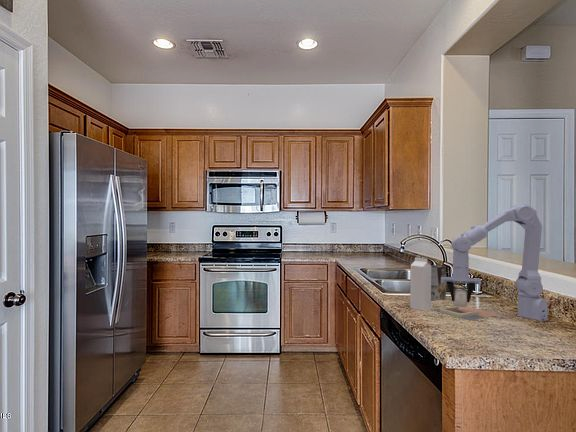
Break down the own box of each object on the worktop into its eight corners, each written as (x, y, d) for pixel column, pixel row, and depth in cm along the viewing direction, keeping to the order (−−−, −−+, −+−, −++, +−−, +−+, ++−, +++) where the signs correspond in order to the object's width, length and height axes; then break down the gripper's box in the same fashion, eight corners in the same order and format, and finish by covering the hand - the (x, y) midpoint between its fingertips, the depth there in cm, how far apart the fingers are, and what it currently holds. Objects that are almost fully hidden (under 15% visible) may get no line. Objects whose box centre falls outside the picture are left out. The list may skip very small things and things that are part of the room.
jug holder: (501, 317, 153) (501, 311, 153) (469, 323, 144) (469, 317, 144) (461, 307, 169) (461, 302, 169) (430, 312, 160) (430, 306, 160)
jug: (468, 308, 151) (468, 292, 151) (454, 307, 152) (454, 291, 152) (465, 302, 160) (465, 288, 160) (452, 302, 162) (452, 287, 162)
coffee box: (439, 302, 178) (440, 267, 178) (425, 300, 182) (426, 266, 183) (446, 299, 186) (446, 265, 186) (432, 297, 190) (432, 264, 190)
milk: (422, 313, 158) (423, 259, 158) (409, 310, 163) (410, 257, 163) (431, 311, 162) (431, 258, 162) (418, 308, 167) (419, 256, 167)
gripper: (479, 266, 156) (479, 300, 156) (440, 265, 161) (440, 298, 161) (482, 269, 150) (481, 304, 150) (441, 267, 154) (441, 301, 154)
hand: (460, 301), depth 155 cm, fingers closed on jug, 5 cm apart
